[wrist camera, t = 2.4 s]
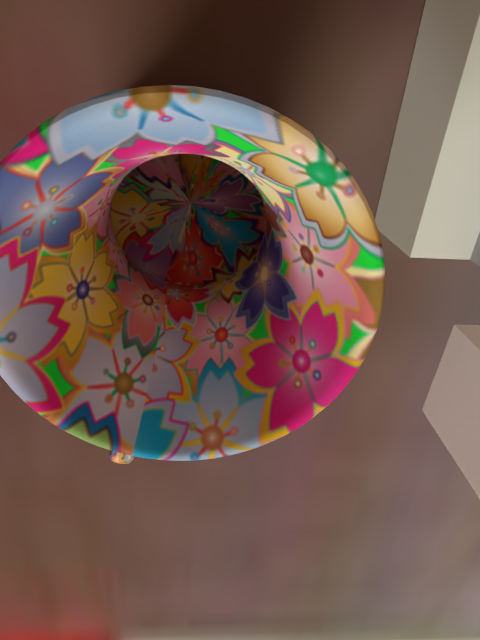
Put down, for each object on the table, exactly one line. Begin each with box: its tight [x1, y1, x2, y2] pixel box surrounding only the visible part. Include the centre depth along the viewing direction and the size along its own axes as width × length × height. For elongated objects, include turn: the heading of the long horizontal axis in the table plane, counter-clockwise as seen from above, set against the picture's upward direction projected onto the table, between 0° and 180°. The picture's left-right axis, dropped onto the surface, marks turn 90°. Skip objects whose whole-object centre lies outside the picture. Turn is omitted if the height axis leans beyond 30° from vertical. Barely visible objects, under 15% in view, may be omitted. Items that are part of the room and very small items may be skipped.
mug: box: [0, 85, 385, 464], centre depth 15 cm, size 12×9×11 cm
